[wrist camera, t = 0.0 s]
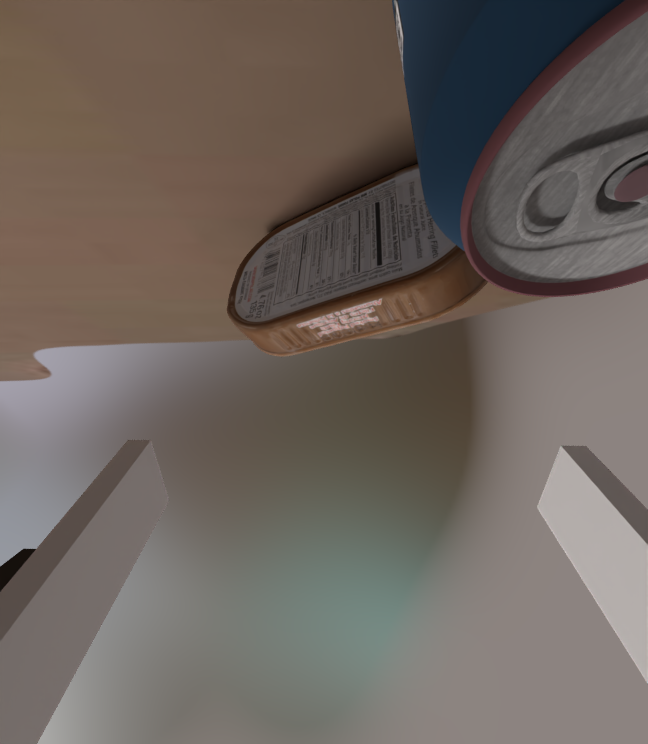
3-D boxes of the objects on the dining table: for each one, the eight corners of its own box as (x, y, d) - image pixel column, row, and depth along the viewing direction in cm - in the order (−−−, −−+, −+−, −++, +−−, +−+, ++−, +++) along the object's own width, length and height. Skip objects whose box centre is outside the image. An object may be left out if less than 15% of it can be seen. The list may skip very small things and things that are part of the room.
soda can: (694, -401, 7) (1780, -623, 2) (596, 25, 13) (779, 276, 8) (365, -172, 9) (397, 32, 4) (407, 101, 15) (443, 334, 10)
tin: (259, 269, 25) (245, 375, 21) (229, 238, 22) (206, 352, 19) (487, 174, 18) (526, 304, 14) (479, 116, 16) (523, 255, 12)
